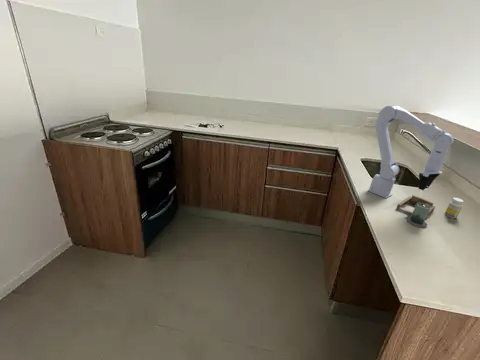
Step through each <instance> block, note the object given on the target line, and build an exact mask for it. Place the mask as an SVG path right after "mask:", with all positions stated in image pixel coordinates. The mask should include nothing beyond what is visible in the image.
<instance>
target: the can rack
mask: <svg viewBox="0 0 480 360" xmlns="http://www.w3.org/2000/svg"><path fill="white" fill-rule="evenodd" d="M417 202H423V203H426V204H428V205H430V206H431V208H430V210H429V212H428V214H427V216H426V218H428V217H429V216H430V215H431V214H432V213H433V212H434V210H435V209H436V206H434V202H433V201H431V200H427V199H424V198H423V197H420V196H418V195H415V194H412V196H408V197H407V198H405V199H404V200H402V201H400V202H398V203H397V205H396V209H395V210H398V211H400V212H402V213H404V214H407V215H408V216H412V213H413V211H409V210H407V209H405V208H404V207H405V206H407V205H408V204H409V203H410V204H412V205H415V206H416V204H417Z"/></svg>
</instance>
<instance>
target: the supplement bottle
mask: <svg viewBox="0 0 480 360" xmlns="http://www.w3.org/2000/svg"><path fill="white" fill-rule="evenodd" d="M463 204H464V200H463V199H461V198H459V197H453V198H452V200H451V201H450V202H449V204H448V206H447V208H446V210H445V212H444V215H446V216H447V217H449V218H452V219H456V218H457V217H458V216H459V214H460V212H461V210H462V208H463Z"/></svg>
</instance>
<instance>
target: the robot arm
mask: <svg viewBox="0 0 480 360" xmlns="http://www.w3.org/2000/svg"><path fill="white" fill-rule="evenodd" d="M395 120H401V121H402V120H403V121H405V122H406V123H407V124H410V125H412V126H413V127H415V128H416V129H418V130H419V134H420V135H422V136H423V137H425V138H426V139H428V140H430V141H431V142H434V145H433V148H432V149H431V151H430V154H429V155H428V156H429V157H428V158H427V161H426V163H425V165H424V167H423V173H422V172H419V173H418V179H419V182H418V190H420V191H424V190H425V189H426V188H427V187H431V185H432V183H434V181H435V179H436V178H437V177H439V176H440V175H441V174H442V173H443V171H440V170H441V168H442V166H443V164H444V161H445V159H446V158H447V155H448V151H449V150H450V146H451V145H452V144H453V143H454V142H455V141H454V140H455V138H454V136H453V134H451V132H447V131H446V130H445V129H441V128H439V127H438V126H436V125H437V124H436V123H435V122H432V123H431V122H430V121H429V122H424V121H422V120H421V119H419V118H418V117H417V116H415V115H414V114H412V113H411V112H410V111H408V110H406V109H405V108H403V107H401V106H399V105H397V104H393V105H387V106H384V107H383V108H382V109H381V110H380V111H379V112H378V117H377V120H376V123H375V125H374V126H375V131H376V132H375V133H376V136H377V137H376V138H377V141H378V142H377V143H378V147H379V153H380V158H381V162H380V170H379V174H378V173H376V174H375V175H374V176H373V178H372V180H371V182H370V185H369V187H368V190H367V191H368V192H370V193H373V194H375V195H377V196H379V197H382V198H384V199H388V198H390V197H391V196H393V193H391V192H392V189H393V187H394V184H395V181H396V176H397V175H398V174H399V173H400V167H399V165H398V164H397V160H396V159H395V158H394V154H393V147H392V144H391V137H390V131H389V126H390V124H392V122H394V121H395Z"/></svg>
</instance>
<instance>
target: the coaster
mask: <svg viewBox="0 0 480 360" xmlns="http://www.w3.org/2000/svg"><path fill="white" fill-rule="evenodd" d="M405 217H406V218H405V221H406V222H407V223H408V224H409V225H411V226H414V227H417V228H421V229H426V228H427V227H428V223H427V221H426V220H425V221H424V223H423V224H422V225H420V224H416V223H414V222H412V221H411V220H410V218H411V215H408V216H405Z"/></svg>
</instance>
